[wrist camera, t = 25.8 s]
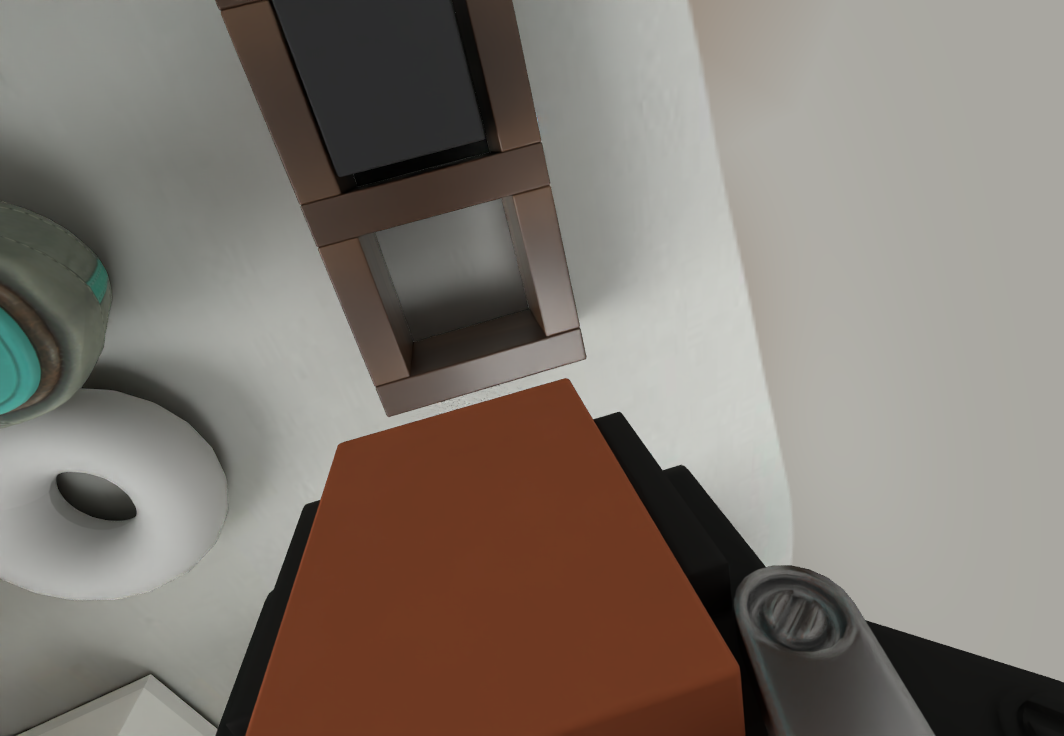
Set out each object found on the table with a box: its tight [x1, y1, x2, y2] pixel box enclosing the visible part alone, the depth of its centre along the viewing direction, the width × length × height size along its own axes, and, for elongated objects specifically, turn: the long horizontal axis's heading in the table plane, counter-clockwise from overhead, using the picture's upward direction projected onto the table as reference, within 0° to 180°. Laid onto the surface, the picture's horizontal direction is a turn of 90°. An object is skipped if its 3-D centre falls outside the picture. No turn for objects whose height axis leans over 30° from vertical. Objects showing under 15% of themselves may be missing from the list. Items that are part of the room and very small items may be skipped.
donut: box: [0, 388, 229, 600], centre depth 22 cm, size 10×4×10 cm
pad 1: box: [272, 0, 485, 177], centre depth 17 cm, size 4×4×6 cm
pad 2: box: [245, 378, 745, 736], centre depth 8 cm, size 4×4×6 cm
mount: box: [215, 0, 586, 417], centre depth 19 cm, size 15×8×4 cm, turn 13°
